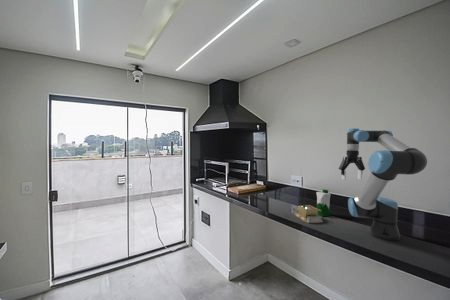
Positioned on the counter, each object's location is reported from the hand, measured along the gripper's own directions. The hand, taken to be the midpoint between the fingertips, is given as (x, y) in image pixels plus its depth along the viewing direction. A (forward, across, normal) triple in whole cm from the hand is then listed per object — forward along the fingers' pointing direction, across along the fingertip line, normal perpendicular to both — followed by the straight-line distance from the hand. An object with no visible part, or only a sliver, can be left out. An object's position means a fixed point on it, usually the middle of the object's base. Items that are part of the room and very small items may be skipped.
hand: (351, 179), depth 150 cm
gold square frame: (+30, +26, -13) cm, 42 cm away
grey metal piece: (+30, +26, -13) cm, 42 cm away
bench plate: (+32, +26, -13) cm, 43 cm away
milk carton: (+32, +9, -18) cm, 38 cm away
